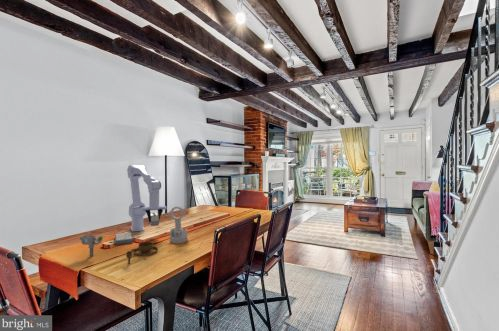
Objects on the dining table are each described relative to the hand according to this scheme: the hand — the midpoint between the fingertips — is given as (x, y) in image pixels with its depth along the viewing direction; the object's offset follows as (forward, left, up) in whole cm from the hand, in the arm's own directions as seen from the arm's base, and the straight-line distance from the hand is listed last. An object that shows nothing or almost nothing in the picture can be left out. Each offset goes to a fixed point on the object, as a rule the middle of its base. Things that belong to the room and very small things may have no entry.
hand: (154, 221), depth 158 cm
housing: (0, 0, -2) cm, 2 cm away
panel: (0, -17, -9) cm, 19 cm away
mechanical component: (+20, -32, -10) cm, 39 cm away
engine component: (+13, +12, -10) cm, 20 cm away
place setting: (+27, -11, -10) cm, 31 cm away
